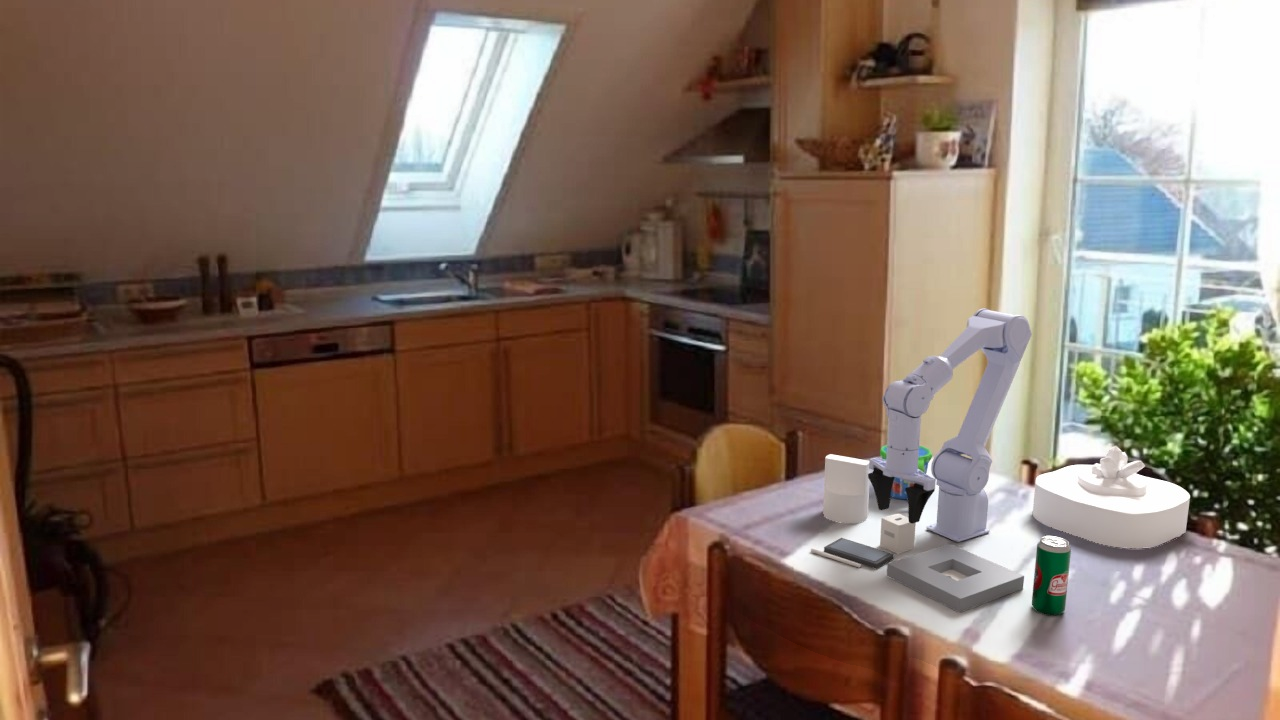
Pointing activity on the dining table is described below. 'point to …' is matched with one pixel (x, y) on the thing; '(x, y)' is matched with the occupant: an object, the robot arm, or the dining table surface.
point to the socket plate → (955, 577)
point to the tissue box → (1111, 503)
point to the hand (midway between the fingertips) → (898, 515)
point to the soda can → (1051, 575)
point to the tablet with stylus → (855, 554)
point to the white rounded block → (846, 489)
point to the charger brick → (897, 533)
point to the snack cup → (900, 484)
